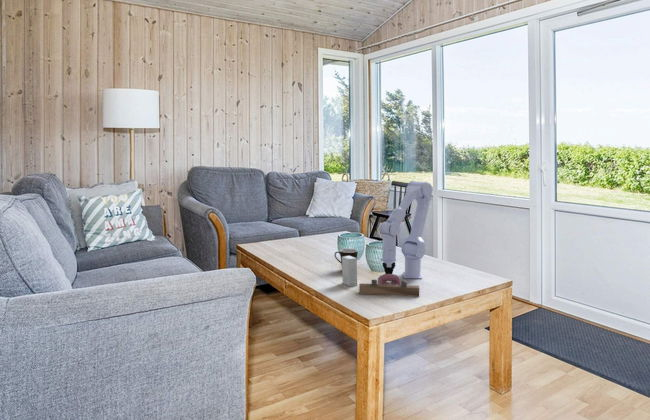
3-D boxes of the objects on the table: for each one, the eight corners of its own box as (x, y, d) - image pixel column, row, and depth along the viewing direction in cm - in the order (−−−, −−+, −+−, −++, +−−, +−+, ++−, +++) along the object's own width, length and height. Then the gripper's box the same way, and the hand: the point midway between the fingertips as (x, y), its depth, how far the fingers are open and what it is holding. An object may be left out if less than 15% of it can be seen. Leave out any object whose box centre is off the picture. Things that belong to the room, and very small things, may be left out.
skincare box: (357, 285, 197) (357, 258, 195) (348, 286, 195) (349, 259, 193) (350, 281, 202) (350, 255, 200) (341, 283, 200) (341, 256, 198)
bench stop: (359, 291, 188) (359, 278, 187) (418, 294, 185) (418, 280, 184) (359, 293, 185) (359, 280, 184) (419, 296, 182) (419, 283, 181)
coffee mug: (361, 271, 219) (361, 251, 217) (346, 274, 214) (346, 253, 213) (347, 266, 228) (347, 246, 227) (333, 268, 224) (333, 248, 223)
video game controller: (400, 290, 194) (399, 274, 197) (402, 288, 190) (401, 272, 192) (377, 291, 194) (376, 274, 196) (379, 289, 190) (378, 272, 192)
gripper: (380, 245, 207) (379, 274, 208) (379, 252, 192) (379, 283, 194) (395, 245, 206) (395, 274, 208) (396, 253, 191) (395, 284, 193)
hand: (388, 279), depth 201 cm, fingers closed
